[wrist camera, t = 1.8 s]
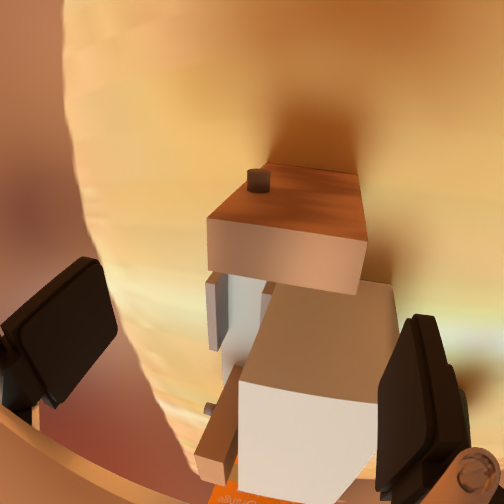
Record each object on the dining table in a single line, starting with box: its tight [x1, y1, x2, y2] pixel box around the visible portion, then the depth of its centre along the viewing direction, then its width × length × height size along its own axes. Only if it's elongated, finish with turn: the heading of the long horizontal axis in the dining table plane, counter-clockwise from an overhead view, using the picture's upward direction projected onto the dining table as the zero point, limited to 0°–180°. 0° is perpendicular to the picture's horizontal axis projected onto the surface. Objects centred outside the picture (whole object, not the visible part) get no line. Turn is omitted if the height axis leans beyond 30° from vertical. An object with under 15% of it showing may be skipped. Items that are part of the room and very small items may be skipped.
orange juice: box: [208, 455, 303, 504], centre depth 30 cm, size 8×9×20 cm
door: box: [207, 163, 368, 295], centre depth 18 cm, size 6×4×11 cm, turn 88°
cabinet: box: [194, 271, 400, 504], centre depth 25 cm, size 14×18×12 cm
